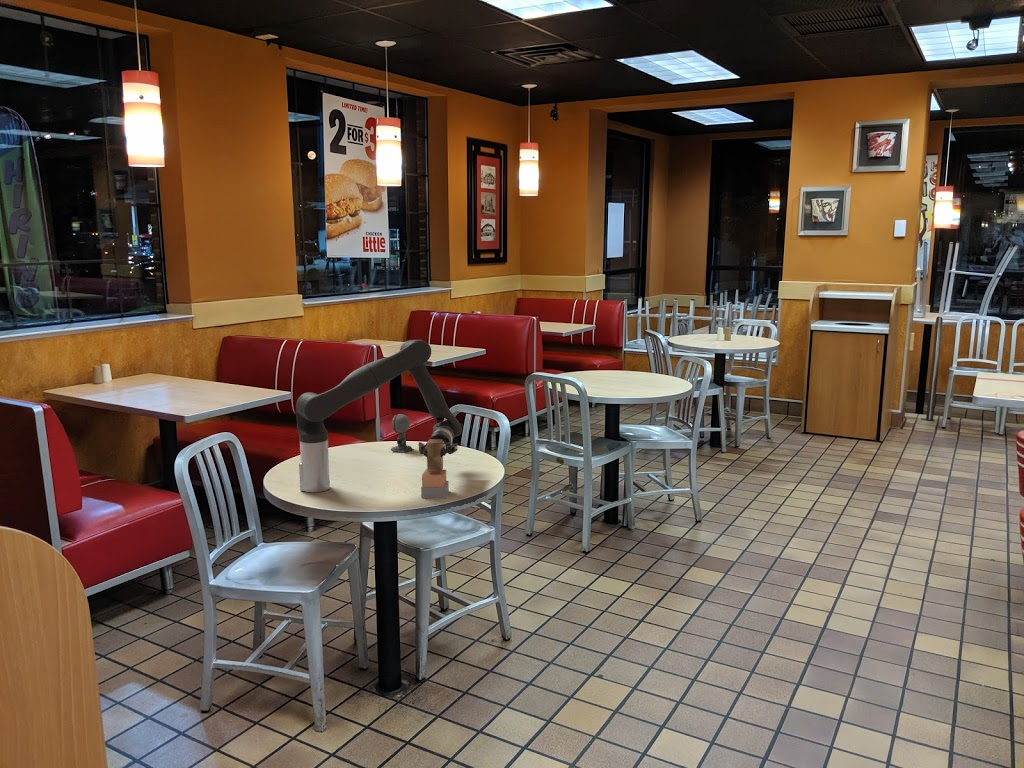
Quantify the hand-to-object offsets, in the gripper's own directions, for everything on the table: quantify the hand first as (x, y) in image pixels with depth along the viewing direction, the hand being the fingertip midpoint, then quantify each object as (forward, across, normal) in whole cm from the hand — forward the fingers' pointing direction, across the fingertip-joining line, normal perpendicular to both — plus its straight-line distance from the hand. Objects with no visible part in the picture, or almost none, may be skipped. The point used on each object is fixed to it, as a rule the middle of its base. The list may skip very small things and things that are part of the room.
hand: (433, 454), depth 254 cm
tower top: (-3, 0, +11) cm, 12 cm away
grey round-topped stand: (-59, -22, +15) cm, 64 cm away
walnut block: (-3, 0, +6) cm, 7 cm away
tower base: (-3, 0, +15) cm, 15 cm away
